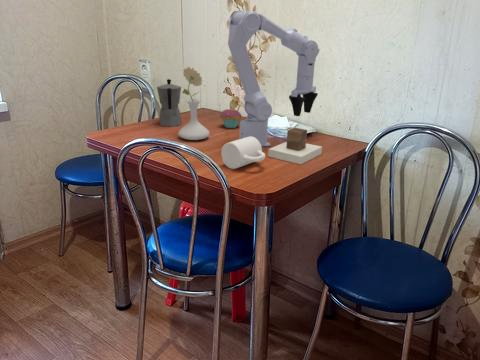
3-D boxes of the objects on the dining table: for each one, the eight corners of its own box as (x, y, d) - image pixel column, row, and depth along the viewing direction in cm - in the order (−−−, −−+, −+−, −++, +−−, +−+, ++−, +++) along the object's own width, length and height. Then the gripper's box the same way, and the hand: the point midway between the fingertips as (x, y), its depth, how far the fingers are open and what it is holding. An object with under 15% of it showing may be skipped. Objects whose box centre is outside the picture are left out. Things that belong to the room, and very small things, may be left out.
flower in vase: (215, 140, 153) (215, 69, 143) (186, 144, 147) (184, 70, 138) (199, 131, 163) (198, 64, 154) (171, 135, 157) (169, 66, 148)
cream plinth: (300, 164, 130) (301, 156, 129) (268, 156, 137) (268, 149, 136) (321, 153, 141) (322, 146, 140) (290, 146, 147) (290, 139, 146)
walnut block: (298, 151, 135) (300, 132, 133) (286, 148, 137) (287, 130, 135) (305, 147, 138) (307, 129, 136) (293, 145, 141) (294, 127, 138)
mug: (220, 165, 128) (221, 140, 125) (242, 158, 135) (243, 133, 132) (251, 175, 121) (252, 149, 118) (272, 167, 128) (273, 141, 125)
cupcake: (244, 126, 172) (245, 96, 168) (233, 130, 165) (234, 100, 161) (227, 123, 176) (227, 94, 172) (215, 127, 170) (215, 97, 165)
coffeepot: (159, 120, 178) (156, 76, 171) (181, 120, 179) (180, 76, 173) (158, 129, 164) (156, 82, 157) (182, 129, 165) (181, 82, 159)
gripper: (305, 79, 141) (302, 119, 146) (324, 75, 151) (321, 112, 156) (287, 77, 144) (284, 116, 149) (307, 73, 155) (304, 109, 160)
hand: (302, 114), depth 153 cm, fingers open, 7 cm apart
